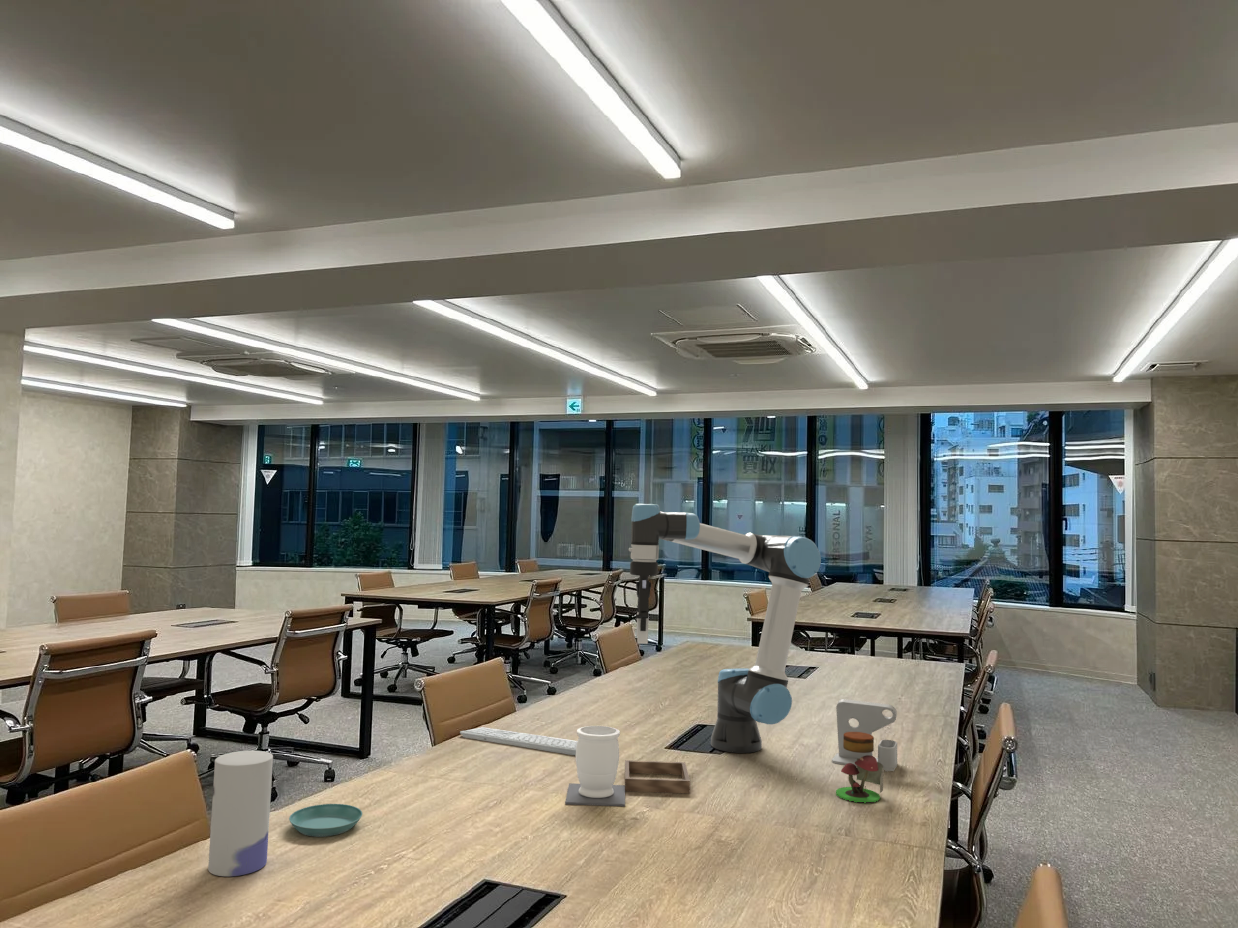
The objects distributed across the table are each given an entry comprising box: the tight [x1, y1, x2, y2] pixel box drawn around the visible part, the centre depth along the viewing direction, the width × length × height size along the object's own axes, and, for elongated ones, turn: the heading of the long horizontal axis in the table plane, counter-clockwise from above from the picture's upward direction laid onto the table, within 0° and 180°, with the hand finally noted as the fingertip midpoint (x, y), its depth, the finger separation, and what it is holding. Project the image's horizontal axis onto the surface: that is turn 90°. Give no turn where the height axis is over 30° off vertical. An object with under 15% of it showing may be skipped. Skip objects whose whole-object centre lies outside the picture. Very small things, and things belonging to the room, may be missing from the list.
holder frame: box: [624, 759, 691, 794], centre depth 215 cm, size 16×16×3 cm
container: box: [207, 750, 274, 877], centre depth 157 cm, size 10×10×20 cm
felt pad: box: [564, 783, 626, 807], centre depth 203 cm, size 14×14×1 cm
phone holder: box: [831, 698, 898, 772], centre depth 239 cm, size 17×10×18 cm, turn 65°
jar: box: [575, 725, 621, 798], centre depth 204 cm, size 11×10×15 cm
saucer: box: [288, 803, 363, 838], centre depth 178 cm, size 15×15×3 cm
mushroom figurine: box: [835, 732, 885, 804], centre depth 209 cm, size 12×13×15 cm
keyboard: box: [459, 726, 578, 757], centre depth 249 cm, size 44×12×2 cm, turn 66°
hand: (641, 639), depth 226 cm, fingers open, 13 cm apart
